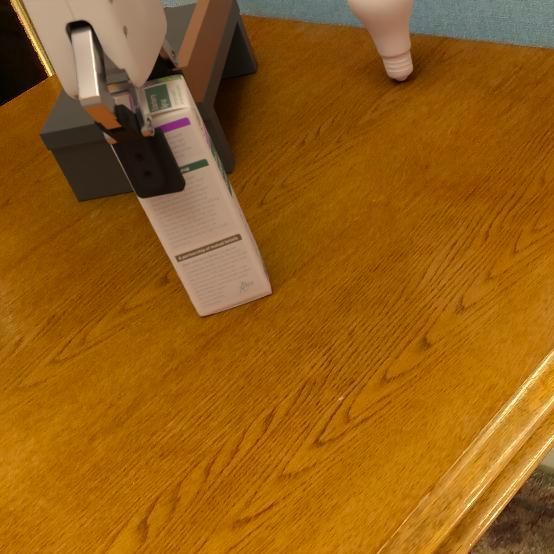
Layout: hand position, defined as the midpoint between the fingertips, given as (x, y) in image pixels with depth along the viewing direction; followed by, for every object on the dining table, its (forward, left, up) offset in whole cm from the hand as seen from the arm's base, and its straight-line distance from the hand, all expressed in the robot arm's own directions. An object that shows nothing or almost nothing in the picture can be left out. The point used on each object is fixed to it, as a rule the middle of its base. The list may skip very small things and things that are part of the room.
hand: (172, 159), depth 67 cm
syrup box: (0, 0, -10) cm, 10 cm away
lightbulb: (+13, +30, -10) cm, 34 cm away
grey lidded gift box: (-9, +29, -10) cm, 32 cm away
